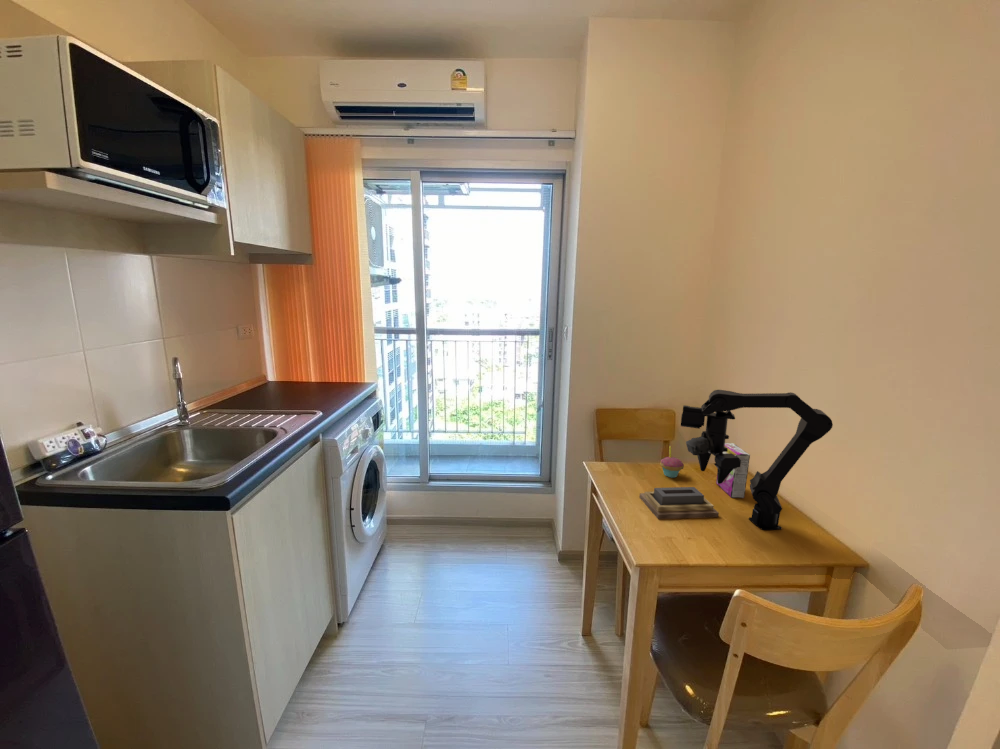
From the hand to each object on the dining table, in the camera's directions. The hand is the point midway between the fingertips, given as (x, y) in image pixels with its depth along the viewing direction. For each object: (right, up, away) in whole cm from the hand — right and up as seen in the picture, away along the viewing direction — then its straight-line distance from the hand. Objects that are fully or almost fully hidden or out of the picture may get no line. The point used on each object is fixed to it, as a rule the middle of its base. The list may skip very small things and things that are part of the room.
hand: (710, 477), depth 132 cm
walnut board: (-8, -11, +6) cm, 15 cm away
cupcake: (0, -7, +30) cm, 31 cm away
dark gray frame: (-8, -10, +5) cm, 14 cm away
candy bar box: (+16, -10, +18) cm, 25 cm away
